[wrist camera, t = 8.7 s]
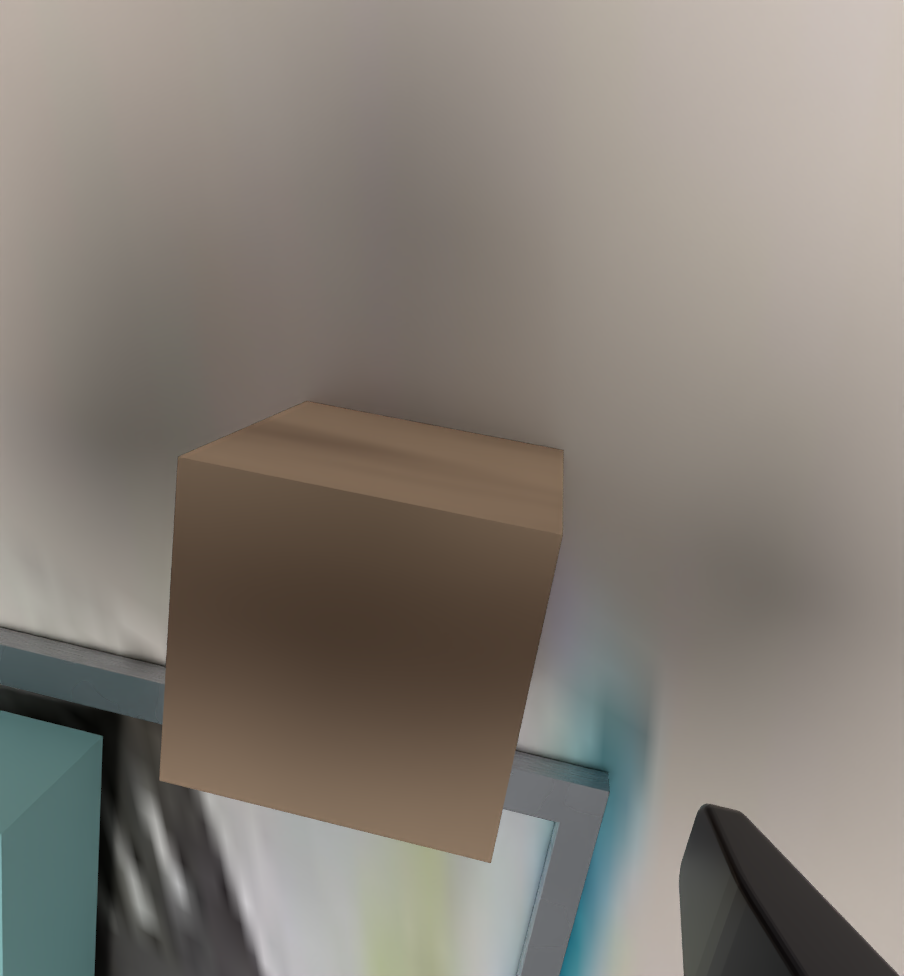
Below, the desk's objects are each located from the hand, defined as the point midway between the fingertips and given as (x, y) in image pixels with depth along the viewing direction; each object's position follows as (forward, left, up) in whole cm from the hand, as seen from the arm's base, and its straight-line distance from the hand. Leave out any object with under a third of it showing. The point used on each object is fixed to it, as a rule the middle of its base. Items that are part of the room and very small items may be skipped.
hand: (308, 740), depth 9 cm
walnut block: (0, 0, -6) cm, 6 cm away
